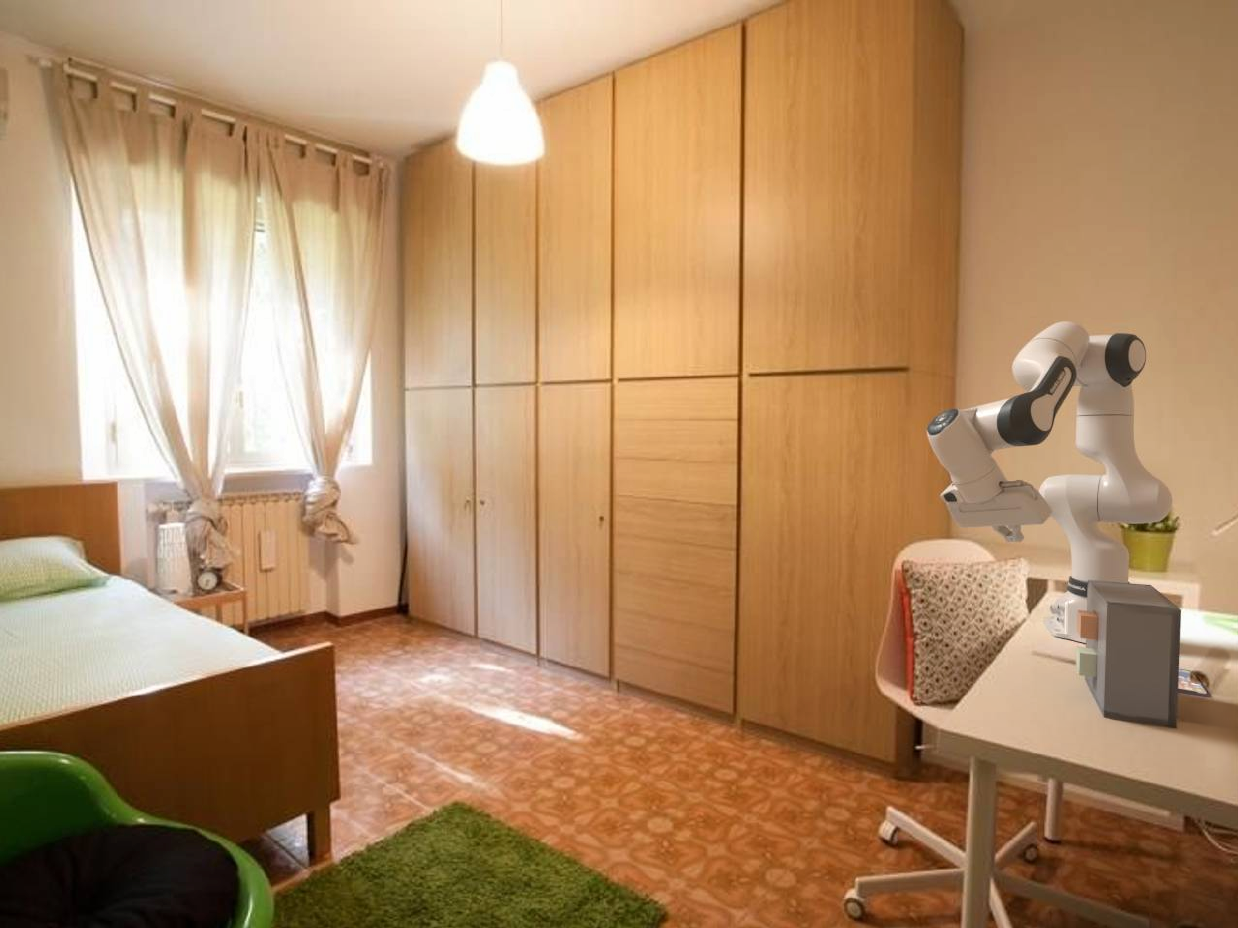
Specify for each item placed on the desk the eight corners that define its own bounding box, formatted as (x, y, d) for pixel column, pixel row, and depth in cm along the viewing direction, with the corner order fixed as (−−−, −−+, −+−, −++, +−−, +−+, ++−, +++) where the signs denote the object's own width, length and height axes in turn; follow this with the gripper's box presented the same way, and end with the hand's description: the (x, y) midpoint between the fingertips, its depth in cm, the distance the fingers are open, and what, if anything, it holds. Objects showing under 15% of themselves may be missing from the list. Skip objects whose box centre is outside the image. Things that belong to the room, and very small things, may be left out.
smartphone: (1192, 674, 138) (1211, 700, 125) (1147, 667, 142) (1160, 691, 129) (1192, 670, 138) (1211, 695, 125) (1147, 663, 142) (1161, 687, 129)
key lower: (1079, 675, 125) (1079, 652, 125) (1075, 667, 129) (1076, 646, 129) (1112, 679, 123) (1113, 656, 123) (1107, 672, 127) (1108, 649, 126)
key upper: (1080, 637, 125) (1081, 615, 125) (1076, 631, 128) (1077, 609, 128) (1113, 641, 122) (1114, 618, 122) (1108, 635, 126) (1109, 612, 126)
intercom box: (1103, 717, 117) (1107, 603, 116) (1084, 679, 135) (1087, 579, 134) (1176, 728, 113) (1181, 609, 112) (1147, 687, 130) (1150, 584, 129)
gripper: (1037, 469, 128) (1073, 529, 129) (951, 480, 147) (983, 532, 148) (1018, 488, 125) (1055, 549, 127) (933, 497, 145) (966, 549, 146)
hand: (1016, 540), depth 138 cm, fingers closed
